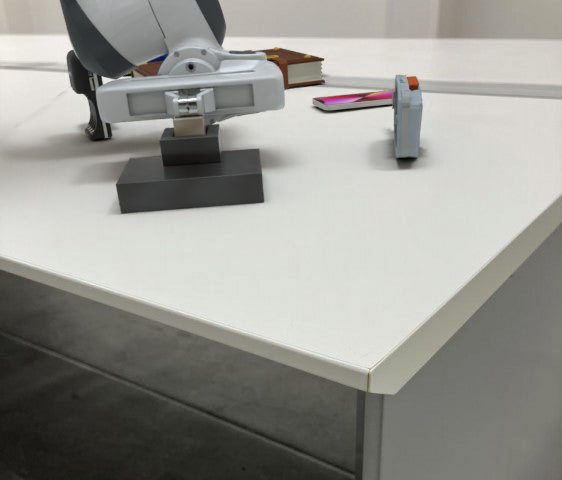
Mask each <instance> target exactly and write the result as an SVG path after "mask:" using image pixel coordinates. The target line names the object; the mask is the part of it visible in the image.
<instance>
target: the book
mask: <svg viewBox="0 0 562 480" xmlns="http://www.w3.org/2000/svg"><path fill="white" fill-rule="evenodd" d="M245 51H253V50H252V49H246V50H245ZM254 51H255V52H264V53H265V54H266V57H267V61H270V62H273V63H274V64H276V65H277V66H278V67H279V69H280V70H281V72H282V74H283V80H284V90H288V89H290V88H293V87H301V86H309V85H310V86H311V85H316V84H317V85H318V84H324V83H326V81H325V79H323V75H322V74H323V71H322V70H323V67H322V66H323V63H322V62H324V61H325V58H324V57H319V56H316V55H313V54H308V53H303V52H300V51H294V50H291V49H287V48H283V47H278V46H275V47H273V48H267V49H259V50H254ZM163 62H164V61H158V62H149V63H147V62H146V63H144V64H141V65H139V67H138V68H136V69H134V70H133V71H131V73H130V75H131V77H130V78H135V77H148V76H157V75H158V72H159V69H160V67H161V65H162V63H163Z"/></svg>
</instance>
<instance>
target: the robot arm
mask: <svg viewBox="0 0 562 480" xmlns="http://www.w3.org/2000/svg"><path fill="white" fill-rule="evenodd" d="M59 4H60V8H61V11H62V15H63V19H64V23H65V26H66V33H67V36H68V40H69V43H70V45H71V48H72V50H74V52H75V54H76V56H77V57H78V59H79V60H80V62H81V64H82V65H83V66H84V68H85V69H87V70H88V71H90V72H92V73H95V74H97V75H100V76H102V78H106V79H111V80H110V81H107V82H105V83H103V85H102V86H100V87H98V88H97V89H96V99H97V105H98V109H99V114H100V118H101V120H102V121H103V122H106V123H110V124H117V123H118V124H120V123H131V122H133V123H134V122H141V121H142V122H144V121H157V120H169V119H170V120H171V119H172V120H173V119H174V116H175V118H179V117H191V116H203V115H204V119H205V125H212V124H216V123H220V122H224V121H226V120H229V119H232V118H235V117H242V116H247V115H254V114H258V113H265V112H269V111H272V112H274V111H275V112H276V111H280V110H283V109H284V108H285V107H286V106H285V105H286V98H285V97H286V96H285V89H284V80H283V74H282V72H281V70H280V69H279V67H278V66H277V65H276V64H274V63H273V62H270V61H267V57H266V54H265V53H264V52H255V51H256V50H252V51H246V50H230V49H229V50H228V49H224V47H223V43H224V40H225V38H226V31H227V23H226V19H225V15H224V13H223V9H222V7H221V4H220V1H219V0H59ZM166 53H169V54H168V56H167V58H166V59H165V60H164V62H163V63H162V65H161V67H160V69H159V72H158V75H157V76H148V77H135V78H132V77H126V78H122V77H124V76H126V75H128V74H127V73H129V72H131V71H133V70H134V69H136V68H138V67H139V65H141V64H144V63H146V62H148V61H150V60H153V59H155V58H157V57H160V56H162V55H164V54H166ZM129 74H130V73H129Z"/></svg>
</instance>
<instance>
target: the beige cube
mask: <svg viewBox="0 0 562 480" xmlns="http://www.w3.org/2000/svg"><path fill="white" fill-rule="evenodd" d="M172 125H173V127H174V133H175V137H178V136H191V135H205V134H206V128H205V119H204V115H203V116H191V117H179V118H175V116H174V119H172Z"/></svg>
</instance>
